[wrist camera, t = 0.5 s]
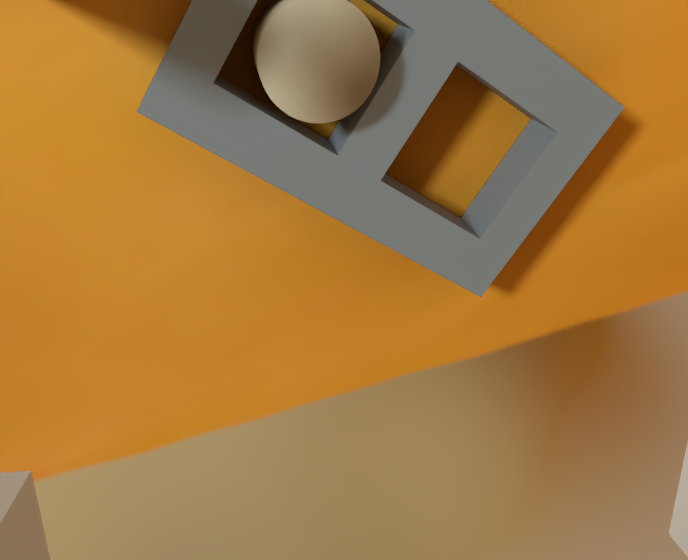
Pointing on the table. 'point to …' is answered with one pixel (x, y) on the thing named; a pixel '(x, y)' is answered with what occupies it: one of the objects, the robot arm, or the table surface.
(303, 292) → the table surface
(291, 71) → the wooden plug
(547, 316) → the table surface
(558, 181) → the jig plate
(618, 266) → the table surface
